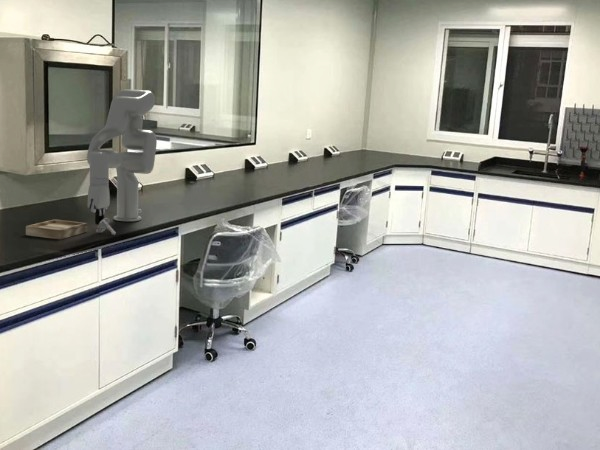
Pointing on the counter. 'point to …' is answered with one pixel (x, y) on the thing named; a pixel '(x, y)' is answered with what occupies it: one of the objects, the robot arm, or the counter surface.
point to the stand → (105, 226)
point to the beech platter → (56, 229)
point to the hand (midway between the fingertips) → (99, 224)
